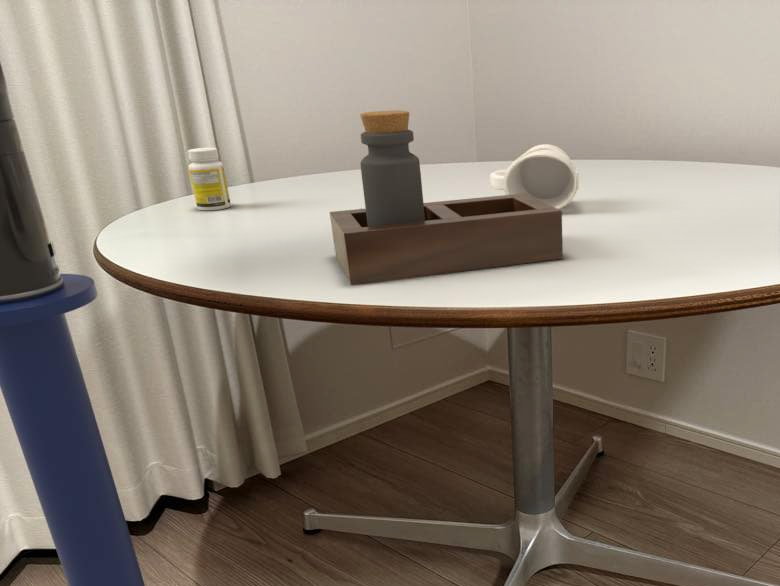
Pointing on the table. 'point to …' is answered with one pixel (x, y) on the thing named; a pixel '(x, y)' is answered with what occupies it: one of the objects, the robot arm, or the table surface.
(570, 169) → the mug
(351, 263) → the box
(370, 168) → the bottle
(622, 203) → the table surface
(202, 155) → the supplement bottle
